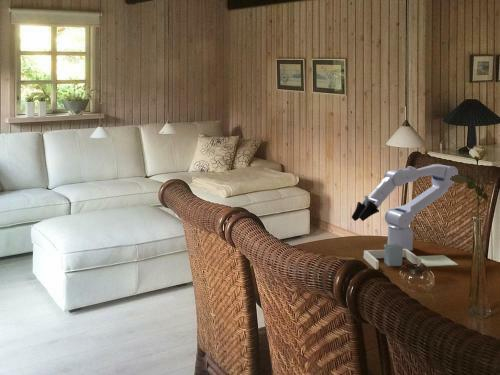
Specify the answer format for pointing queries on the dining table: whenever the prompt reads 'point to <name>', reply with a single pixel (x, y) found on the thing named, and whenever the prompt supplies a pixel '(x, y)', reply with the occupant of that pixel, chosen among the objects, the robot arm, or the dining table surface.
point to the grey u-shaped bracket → (373, 254)
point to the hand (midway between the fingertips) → (357, 219)
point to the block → (393, 254)
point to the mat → (436, 261)
